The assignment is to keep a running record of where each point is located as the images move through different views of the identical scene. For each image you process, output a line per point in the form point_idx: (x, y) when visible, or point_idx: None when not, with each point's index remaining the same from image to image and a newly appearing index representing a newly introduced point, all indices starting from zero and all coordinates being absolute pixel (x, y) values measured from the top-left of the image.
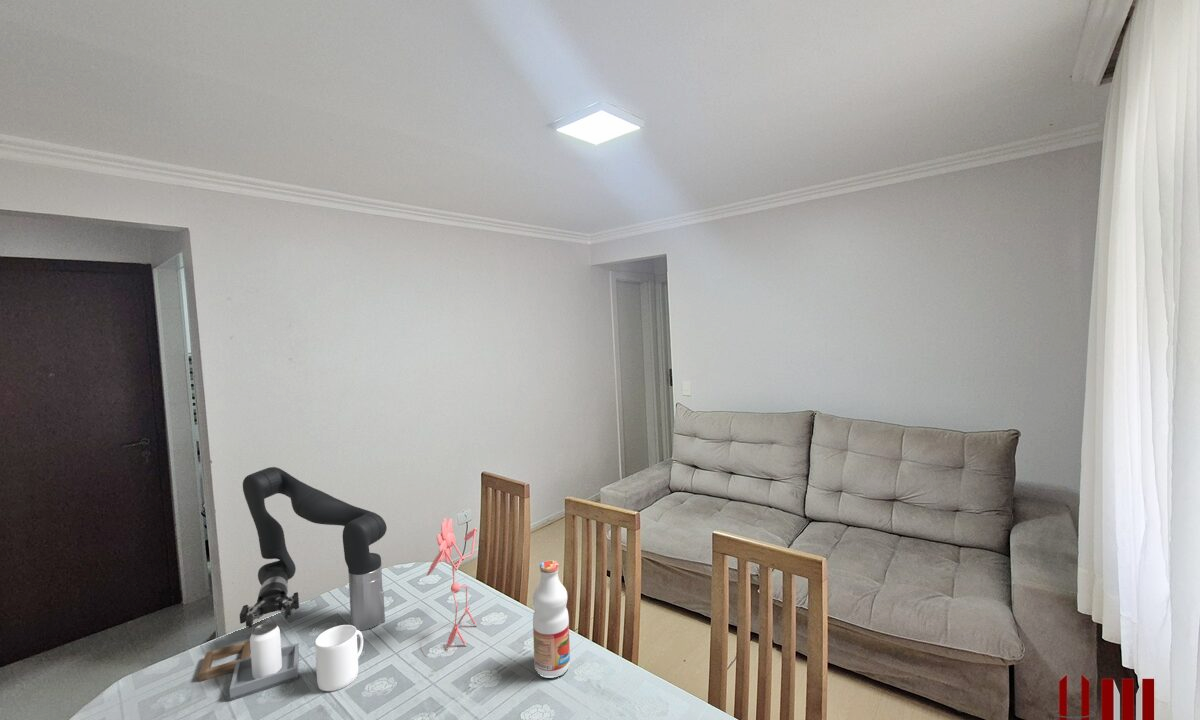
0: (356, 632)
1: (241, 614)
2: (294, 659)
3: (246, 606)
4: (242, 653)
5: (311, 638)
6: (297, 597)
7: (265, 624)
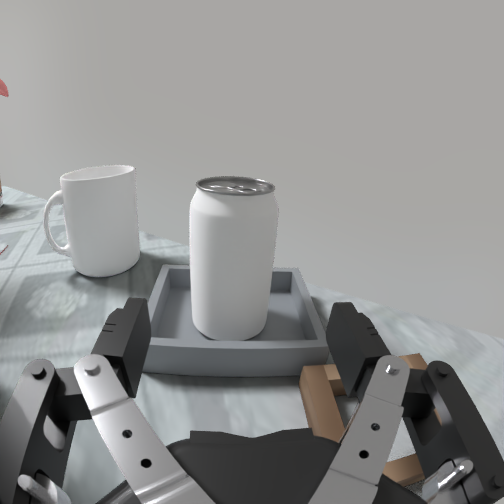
0: (68, 175)
1: (442, 367)
2: (161, 286)
3: (484, 470)
4: (337, 409)
5: (84, 428)
6: (12, 408)
7: (236, 198)
